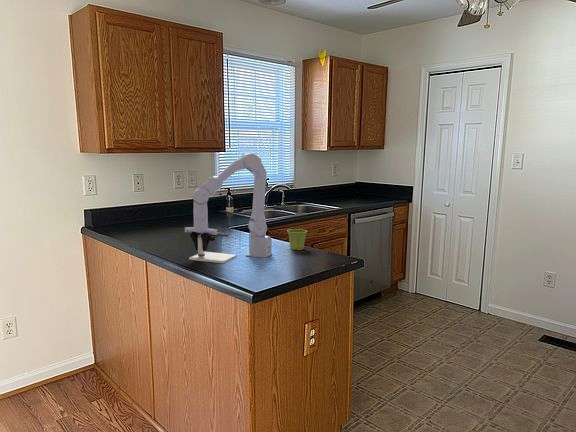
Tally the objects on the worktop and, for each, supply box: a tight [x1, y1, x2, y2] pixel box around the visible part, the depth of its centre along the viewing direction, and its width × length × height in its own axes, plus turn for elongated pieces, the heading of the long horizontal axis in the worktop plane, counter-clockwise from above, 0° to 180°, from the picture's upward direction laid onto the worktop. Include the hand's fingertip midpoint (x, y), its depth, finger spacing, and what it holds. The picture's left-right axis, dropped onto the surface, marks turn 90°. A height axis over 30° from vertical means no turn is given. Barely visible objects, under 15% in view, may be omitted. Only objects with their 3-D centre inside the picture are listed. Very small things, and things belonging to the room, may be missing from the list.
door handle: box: [201, 232, 230, 241], centre depth 225 cm, size 3×20×16 cm
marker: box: [197, 235, 206, 257], centre depth 177 cm, size 3×3×9 cm
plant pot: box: [286, 228, 308, 251], centre depth 198 cm, size 9×9×9 cm
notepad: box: [188, 251, 238, 264], centre depth 180 cm, size 16×12×1 cm
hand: (201, 250), depth 177 cm, fingers closed on marker, 3 cm apart
